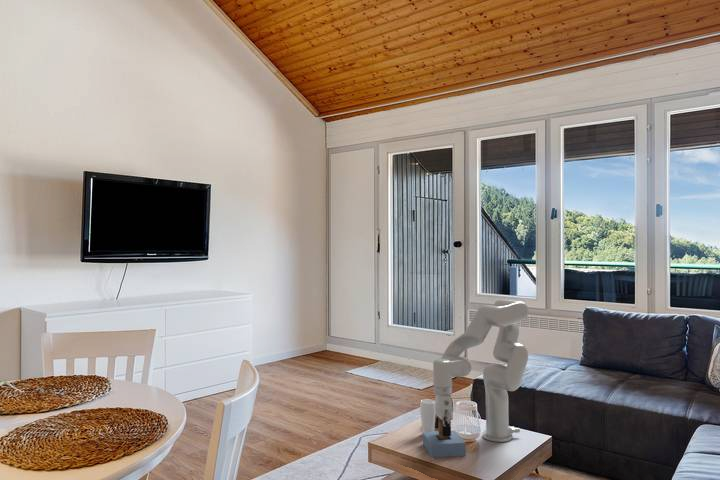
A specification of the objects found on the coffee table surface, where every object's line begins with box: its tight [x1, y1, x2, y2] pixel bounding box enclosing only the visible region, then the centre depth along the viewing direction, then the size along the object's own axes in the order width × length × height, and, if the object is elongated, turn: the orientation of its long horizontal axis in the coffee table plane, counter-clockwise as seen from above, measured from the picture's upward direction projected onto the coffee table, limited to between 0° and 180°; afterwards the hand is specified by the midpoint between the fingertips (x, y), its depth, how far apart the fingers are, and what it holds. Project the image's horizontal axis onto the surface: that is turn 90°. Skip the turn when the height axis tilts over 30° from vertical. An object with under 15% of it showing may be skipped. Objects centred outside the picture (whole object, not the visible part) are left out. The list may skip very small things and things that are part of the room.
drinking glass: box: [419, 398, 436, 435], centre depth 232 cm, size 7×7×15 cm
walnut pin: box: [437, 417, 449, 440], centre depth 215 cm, size 4×4×12 cm
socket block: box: [422, 430, 467, 458], centre depth 215 cm, size 14×14×5 cm
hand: (443, 431), depth 215 cm, fingers open, 9 cm apart
